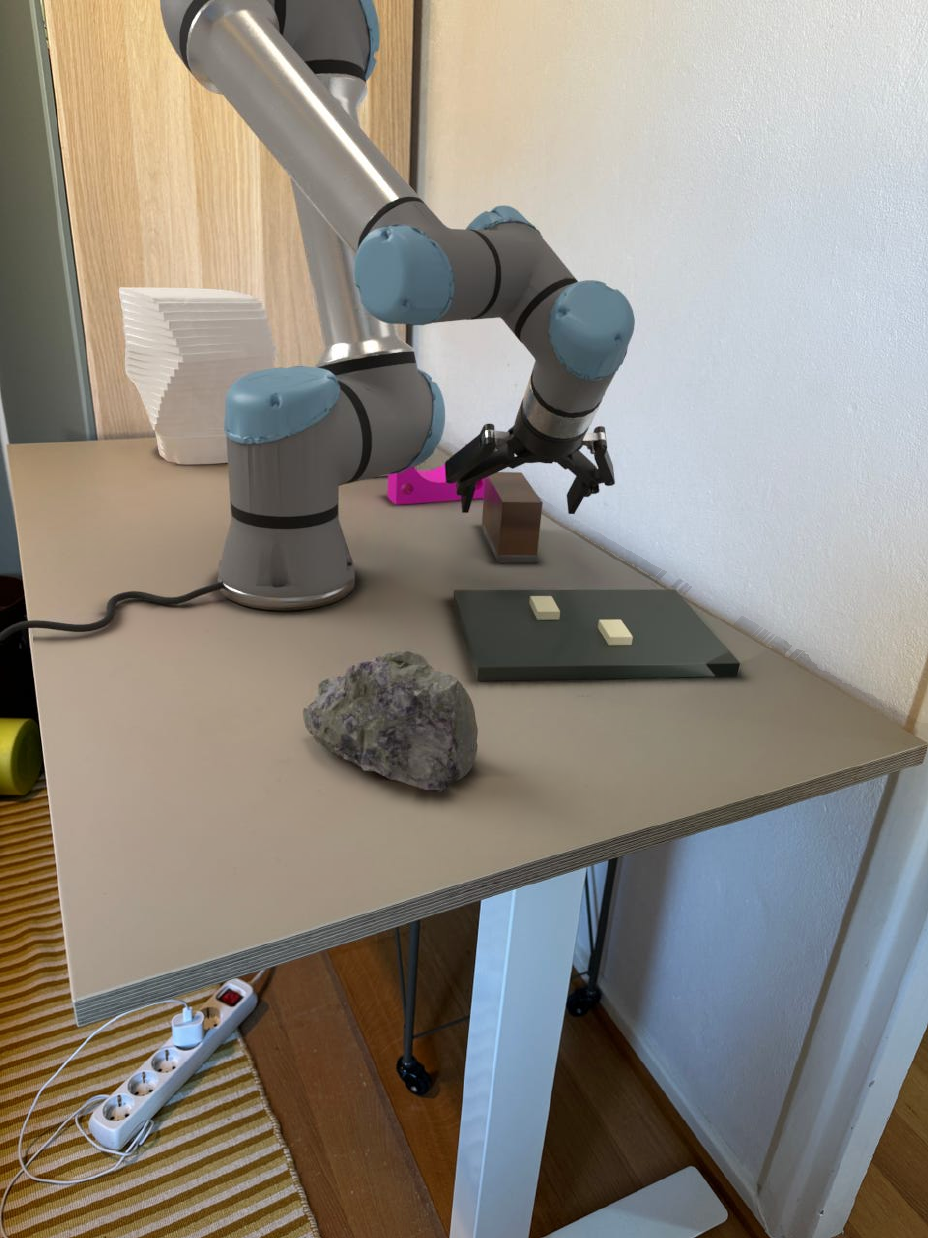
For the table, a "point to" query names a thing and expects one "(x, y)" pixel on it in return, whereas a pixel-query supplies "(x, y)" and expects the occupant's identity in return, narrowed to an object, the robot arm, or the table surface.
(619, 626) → the cream flat block
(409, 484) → the toy block
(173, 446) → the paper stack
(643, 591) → the slate board
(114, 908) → the table surface
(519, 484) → the block
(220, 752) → the table surface
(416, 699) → the mineral rock
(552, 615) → the cream rectangular block
